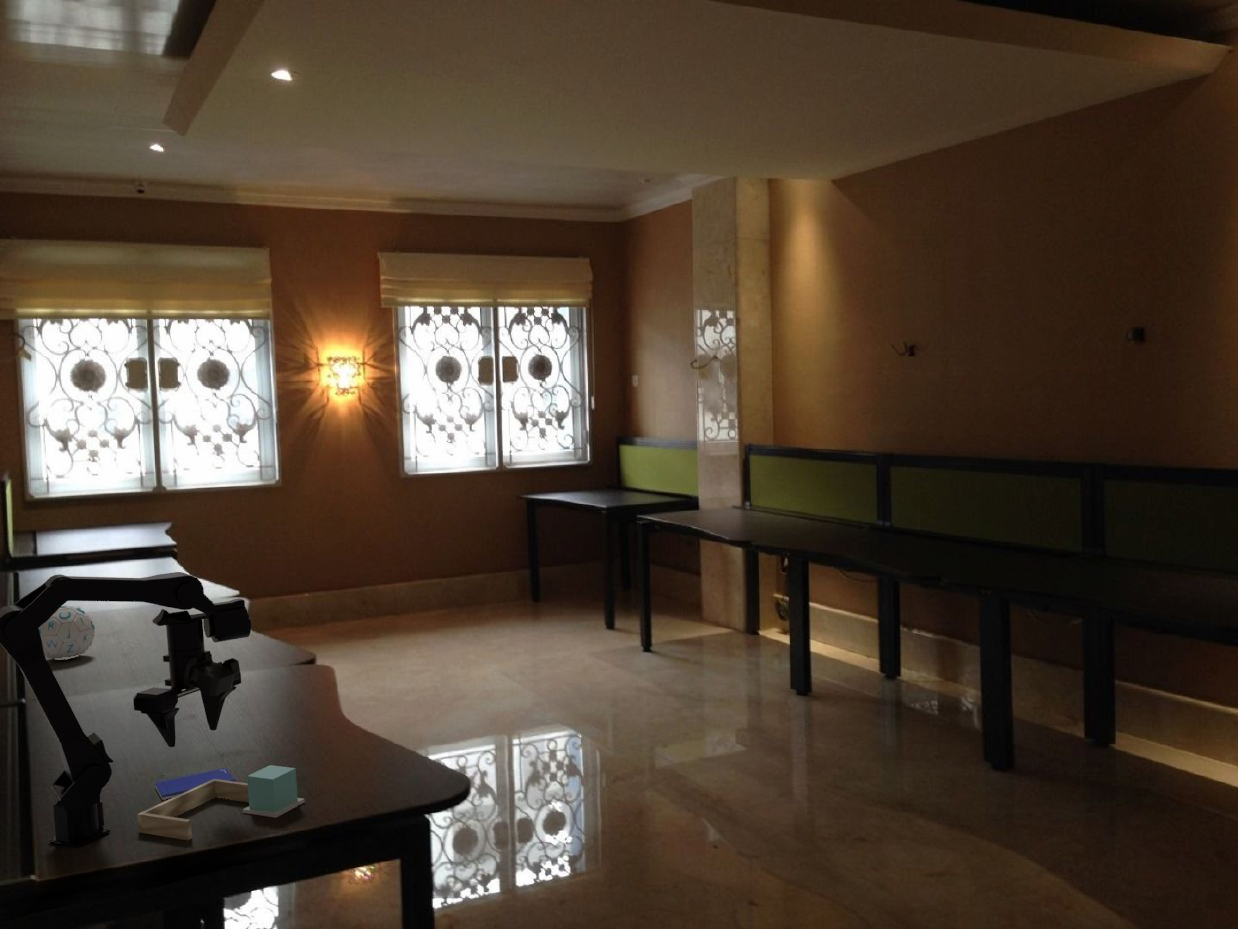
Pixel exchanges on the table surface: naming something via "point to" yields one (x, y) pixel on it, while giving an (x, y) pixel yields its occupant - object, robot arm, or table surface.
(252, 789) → the block
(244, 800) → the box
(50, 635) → the puzzle ball
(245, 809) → the pad
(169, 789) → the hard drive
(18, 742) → the table surface
